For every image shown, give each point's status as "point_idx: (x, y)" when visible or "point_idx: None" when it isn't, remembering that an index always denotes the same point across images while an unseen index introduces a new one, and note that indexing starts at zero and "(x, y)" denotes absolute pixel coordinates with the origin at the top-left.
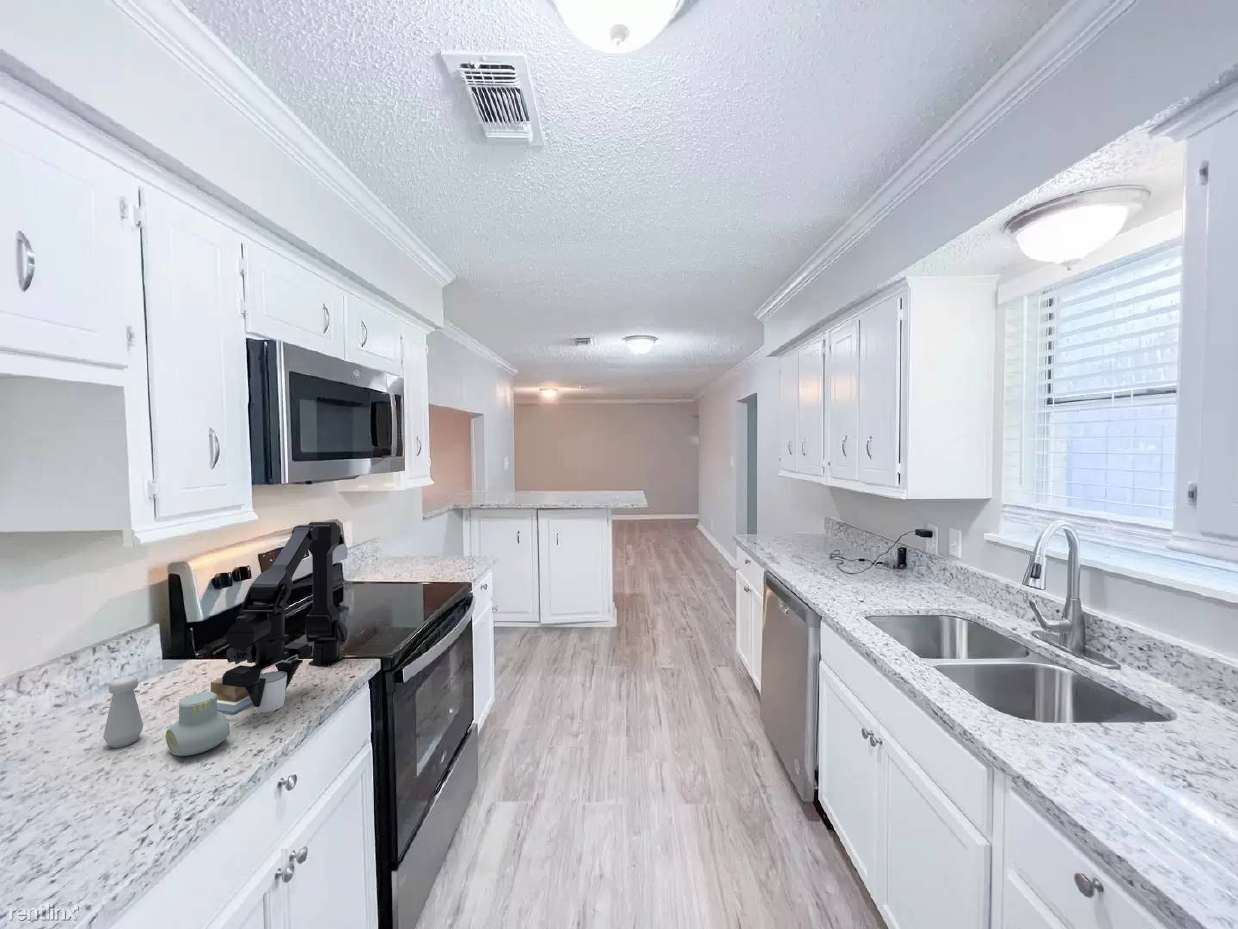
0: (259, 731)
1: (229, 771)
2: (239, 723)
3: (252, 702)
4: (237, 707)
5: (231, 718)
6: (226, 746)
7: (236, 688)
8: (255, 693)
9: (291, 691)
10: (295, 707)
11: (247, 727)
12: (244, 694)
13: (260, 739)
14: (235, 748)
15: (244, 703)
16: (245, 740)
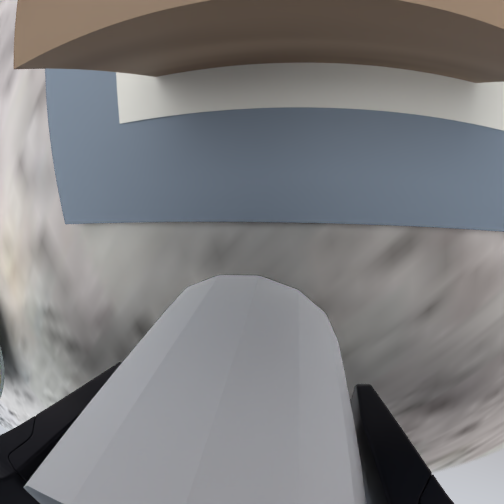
0: None
1: (15, 418)
2: (62, 325)
3: (95, 379)
4: (107, 185)
5: (56, 244)
6: (13, 374)
7: (70, 64)
8: None
9: (481, 318)
10: None
11: (72, 373)
12: (257, 56)
13: None
14: (27, 397)
15: (175, 173)
16: (50, 403)
